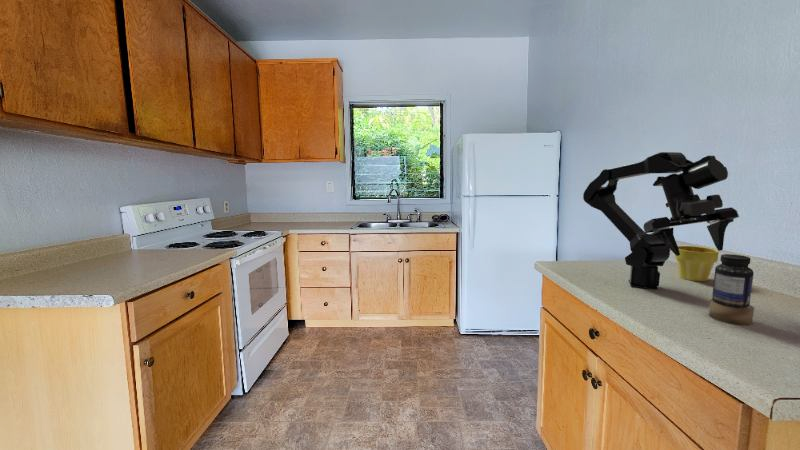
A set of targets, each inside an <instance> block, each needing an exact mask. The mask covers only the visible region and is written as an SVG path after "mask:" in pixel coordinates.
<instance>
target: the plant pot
mask: <svg viewBox="0 0 800 450" xmlns="http://www.w3.org/2000/svg"><path fill="white" fill-rule="evenodd" d="M677 246H678V248H679V252H680V255H679V256H676V255H675V254H674V253H673V254H674V258H676V262H677V263H676V264H677V268H678V275H679V277H680V278H681V279H684V280H687V281H692V282H706V281H708V279H709V277H710V274H711V271H712V269H713V268H714V264H715V263H717V262H718V259H719V252H720V251H718V249H715V248H710V247H705V246H697V245H695V246H694V245H677Z"/></svg>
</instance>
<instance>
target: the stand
mask: <svg viewBox="0 0 800 450" xmlns="http://www.w3.org/2000/svg"><path fill="white" fill-rule="evenodd" d="M754 311H755V307H754V306H753V305H751V304H750V305H749V306H748V307H745V308H736V307H729V306H725V305H721V304H718V303H716V302H714V301H713V300H712V298H711V299H710V304H709V313H708V315H709V317H710V318H712V319H714V320H717V321H719V322H722V323H726V324H731V325H735V326H736V325H738V326H750V325H753V319H754Z"/></svg>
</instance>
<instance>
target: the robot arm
mask: <svg viewBox="0 0 800 450" xmlns="http://www.w3.org/2000/svg"><path fill="white" fill-rule="evenodd" d="M650 174H669V175H667V176H657V178H656V180H655V181H654V183H653V184H652V186H653V187H662V190H663V192H664V197H665V199H666V203H665V207H666V208H669V211H670V214H671V217H670V218H669V217H668V216H663V217H655V218H651V219H650V220H647V221H645V222H644V224H643V229H642V228H641V226H640V225H639V224H638V223H636V222H635V221H634V220H633V219H632V217H630V216H629V215H628V214H627V213H626V212H625V211H624V210H623V208H622V207H620V205H619V204H618V203H616V196H615V192H616V190H617V188H618V183H619V181H620V180H623V179H629V178H634V177H639V176H644V175H650ZM728 176H729V172H728V168H727V166H724V164H723V163H722V162H721V161H720V160H718V159H717V158H716V155H706V156H704V157H702V158H701V159H699V160H697V161H694V162H693V161H692V160H689V159H688V158H687V157H686V156H685V154H683V153H682V152H679V151H678V152H675V151H673V152H672V151H671V152H670V151H663V152H662V151H660V152H656V153H655V154H652V155H649V156H648V157H646V158H645V159H644V160H641V161H638V162H633V163H630V164H625V165H620V166H615V167H611V168H604V169H603V170H601V172H600V173H599V175H598V176H597V177H596V178H594V179H593V180H592V181H591V182H590V183H589V184H588V186H586V189H585V190H584V192H583V194H582V195H583V198H582V199H583V201H584V202H585V203H586V204H587V205H589V206H590V207H591V208H594V209H596V210H598V211H600V212H601V213H603V215H604V216H605V217H606V218H607V219H608V220H609V221H610V222H611V223H612V225H613V226H614V227H615V228H616V229H617V230H618V231H619V232H620V233H621V235H623V236H624V237H625V239H627V241H628V242H629V249H630V253H629V254H628V255H626V256H625V258H624V259H625V260H624V261H625V264H626V265H627V266H630V271H629V272H630V273H629V279H628V282H629V286H630V287H635V288H643V289H649V290H650V289H651V290H658V289H659V288H658V287H659V286H660V281H661V280H660V278H661V272H660V271H659V267H663V266H664V265H665V263H666V261H667V260H668V259H669V258H670V255H671V252H672V253H673V254H675V255H676V256H679V255H680V252H679V248H678V246H679V245H678V244H677V241H676V239H675V236H674V227H677V226H684V225H690V224H691V225H692V224H698V223H705V222H706V223H707V224H709V225H706V228H707V231H708V233H709V235H710V237H711V239H712V242H713V244H714V246H715V247H716V250H718V252H720V251H723V248H724V241H725V233H726V229H727V227H728V225H729V224H730V223H733V222H734V219H735V220H736V219H738V218H740V215H739V213H738V210H737V209H735V208H734V207H724V208H722V207H723V205H724V204H723V199H722V198H721V195H720V194H711V195H707V196H706V198H704V199H701V198H700V196H699V195H698V193H697V194H695V192H694V189H696V190H700V189H704V188H705V187H709V186H711V185H713V184H718V183H720V182H722V181H725V180H727V179H728ZM605 184H607V185H606V186H604V185H605Z"/></svg>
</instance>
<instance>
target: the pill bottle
mask: <svg viewBox="0 0 800 450" xmlns="http://www.w3.org/2000/svg"><path fill="white" fill-rule="evenodd" d="M720 262H721V263H720V264H718V265H716V266H715V268H714V269H715V270H714V277H713V278H714V279H713V286H712V287H713V288H712V296H711V297H712V298H711V299H712V300H713V301H714V302H716V303H718V304H721V305H725V306H729V307H736V308H745V307H748V306H749V305H751V297H752V289H753V280H754V274H755V273H754V270H753V269H752V268H750V267H749V265H750V264H751V257H749V256H747V255H746V256H745V255H741V254H731V253H730V254H729V253H727V254H726V253H725V254H721V255H720Z"/></svg>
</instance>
